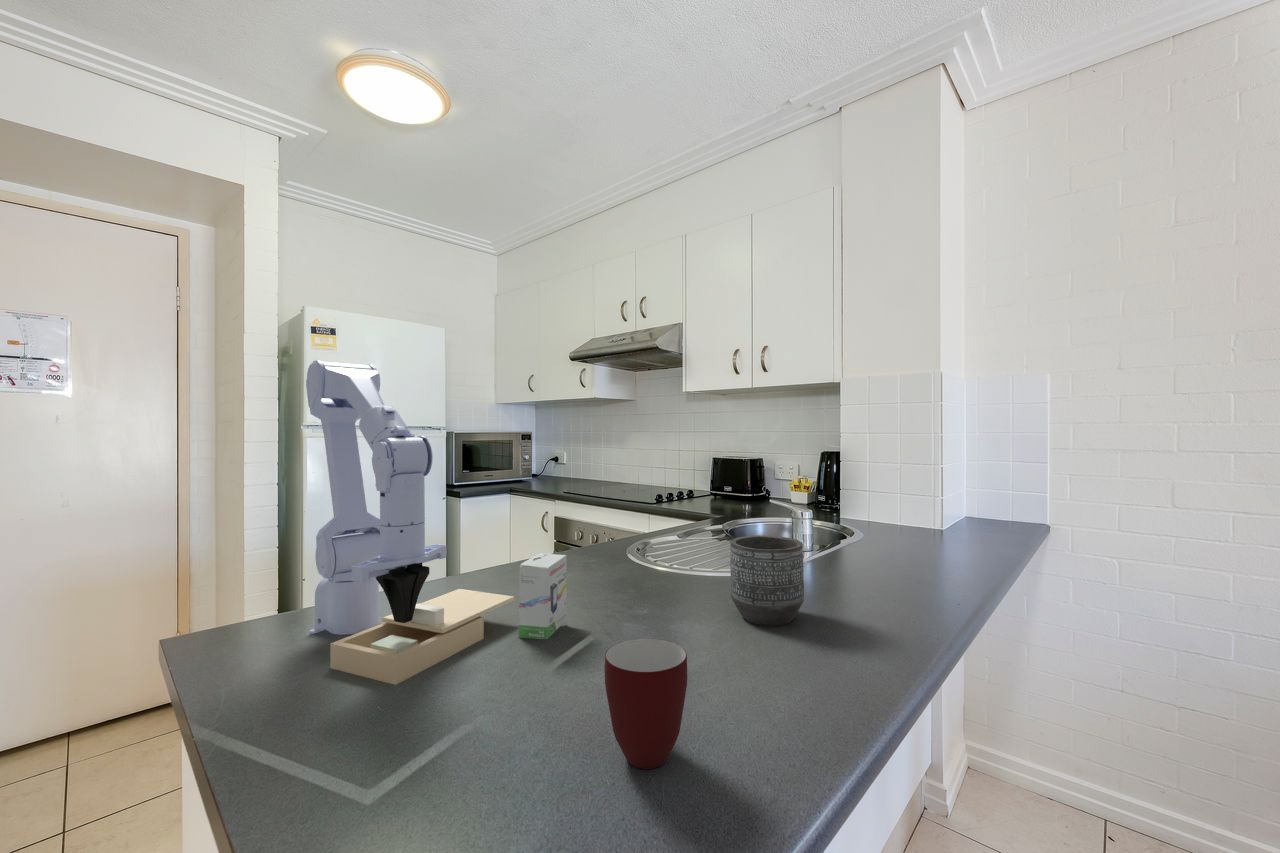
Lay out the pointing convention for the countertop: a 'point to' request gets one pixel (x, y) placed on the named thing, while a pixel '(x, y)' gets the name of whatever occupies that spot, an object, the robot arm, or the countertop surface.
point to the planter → (767, 578)
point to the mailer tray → (399, 667)
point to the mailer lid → (452, 610)
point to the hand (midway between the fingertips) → (403, 620)
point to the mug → (646, 698)
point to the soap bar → (393, 644)
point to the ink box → (542, 595)
